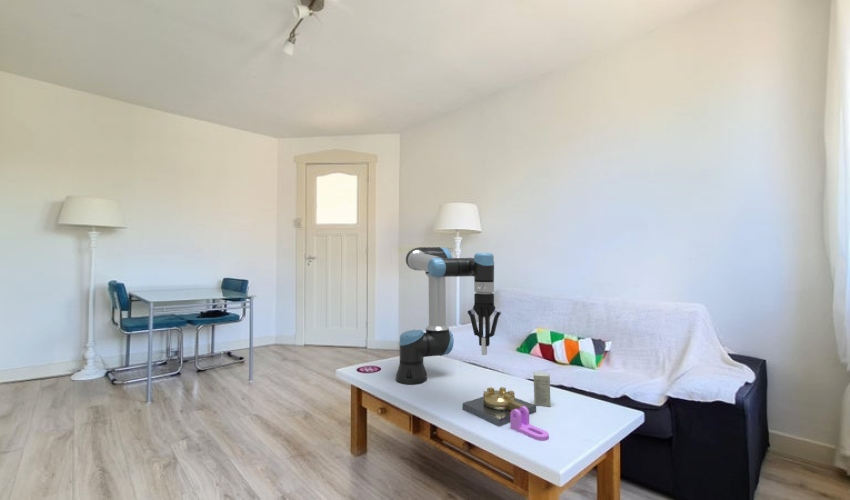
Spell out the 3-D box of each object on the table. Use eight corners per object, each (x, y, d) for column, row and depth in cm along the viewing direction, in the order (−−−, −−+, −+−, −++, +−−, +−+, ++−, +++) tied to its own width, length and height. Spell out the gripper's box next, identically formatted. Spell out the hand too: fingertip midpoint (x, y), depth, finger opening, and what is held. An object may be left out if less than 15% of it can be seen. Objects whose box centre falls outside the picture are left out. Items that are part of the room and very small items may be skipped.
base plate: (462, 409, 151) (462, 403, 151) (499, 397, 164) (498, 391, 164) (506, 429, 133) (506, 422, 133) (544, 414, 146) (543, 408, 146)
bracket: (510, 428, 135) (510, 408, 135) (520, 424, 138) (520, 404, 138) (541, 442, 124) (541, 421, 125) (552, 438, 128) (552, 416, 128)
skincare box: (550, 403, 158) (550, 373, 158) (550, 407, 154) (550, 376, 154) (534, 401, 160) (534, 371, 160) (533, 405, 156) (533, 374, 156)
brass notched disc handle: (477, 401, 152) (477, 390, 152) (499, 395, 158) (499, 384, 158) (512, 418, 136) (512, 405, 136) (535, 411, 142) (535, 399, 142)
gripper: (465, 293, 148) (465, 354, 148) (498, 294, 143) (499, 358, 142) (470, 291, 155) (470, 350, 154) (503, 292, 150) (503, 353, 149)
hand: (484, 354), depth 148 cm, fingers closed
